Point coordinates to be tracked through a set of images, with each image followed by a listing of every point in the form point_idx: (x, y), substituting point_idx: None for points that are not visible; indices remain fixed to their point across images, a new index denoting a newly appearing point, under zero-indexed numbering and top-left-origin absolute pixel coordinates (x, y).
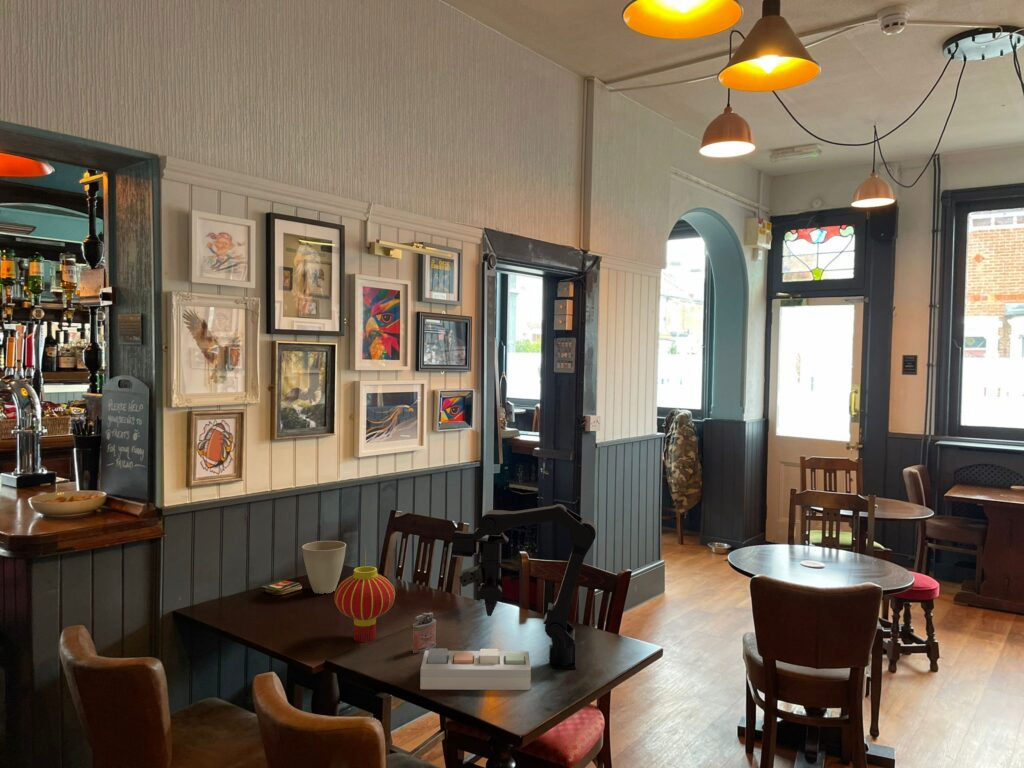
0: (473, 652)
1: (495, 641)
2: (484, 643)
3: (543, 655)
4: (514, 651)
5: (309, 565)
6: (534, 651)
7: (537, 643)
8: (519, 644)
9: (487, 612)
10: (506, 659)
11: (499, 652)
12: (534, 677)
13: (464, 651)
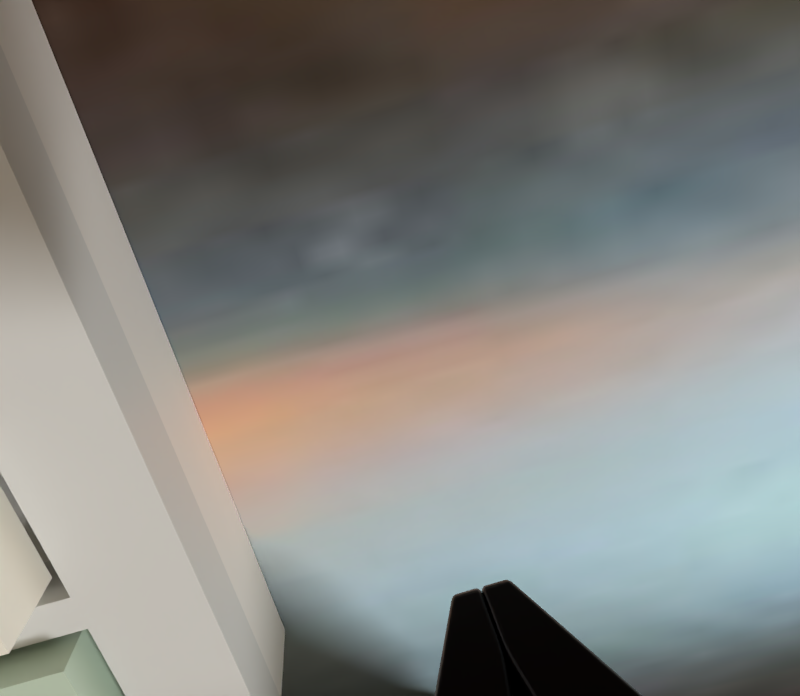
0: (32, 337)
1: (790, 279)
2: (742, 200)
3: None
4: (230, 672)
5: None
6: (617, 581)
7: (760, 563)
8: (736, 464)
9: (449, 658)
10: None
11: (153, 572)
12: None
13: (12, 225)
